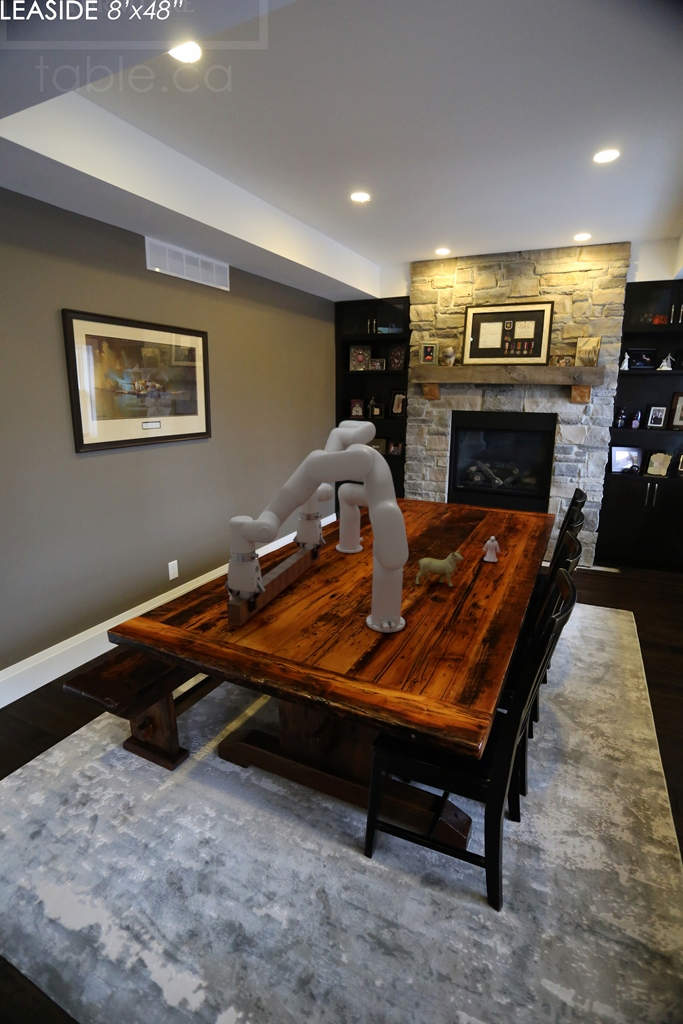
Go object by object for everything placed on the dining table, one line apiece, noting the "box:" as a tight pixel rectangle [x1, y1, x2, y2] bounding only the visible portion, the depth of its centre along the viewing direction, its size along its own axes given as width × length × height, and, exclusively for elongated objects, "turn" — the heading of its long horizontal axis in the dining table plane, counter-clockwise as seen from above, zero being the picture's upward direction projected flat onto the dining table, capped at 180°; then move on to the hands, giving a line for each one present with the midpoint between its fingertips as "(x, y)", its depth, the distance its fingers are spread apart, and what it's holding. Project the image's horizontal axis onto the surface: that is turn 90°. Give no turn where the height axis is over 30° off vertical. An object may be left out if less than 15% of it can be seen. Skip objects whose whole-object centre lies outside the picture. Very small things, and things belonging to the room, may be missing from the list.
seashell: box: [226, 589, 243, 602], centre depth 178 cm, size 8×5×8 cm
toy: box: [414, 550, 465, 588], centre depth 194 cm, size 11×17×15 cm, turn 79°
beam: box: [226, 542, 322, 627], centre depth 184 cm, size 67×4×7 cm, turn 161°
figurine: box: [482, 535, 501, 563], centre depth 223 cm, size 8×8×12 cm
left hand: (309, 557), depth 208 cm, fingers closed on beam, 4 cm apart
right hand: (245, 609), depth 160 cm, fingers closed on beam, 4 cm apart
